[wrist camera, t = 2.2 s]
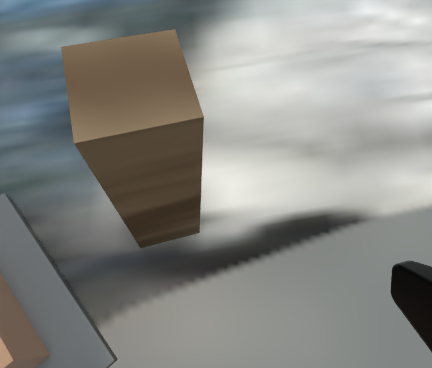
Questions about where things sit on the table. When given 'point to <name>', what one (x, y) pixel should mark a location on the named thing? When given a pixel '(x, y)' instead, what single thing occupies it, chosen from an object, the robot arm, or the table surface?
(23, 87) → the table surface
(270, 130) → the table surface
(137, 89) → the walnut wood block
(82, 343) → the square socket holder
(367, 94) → the table surface
